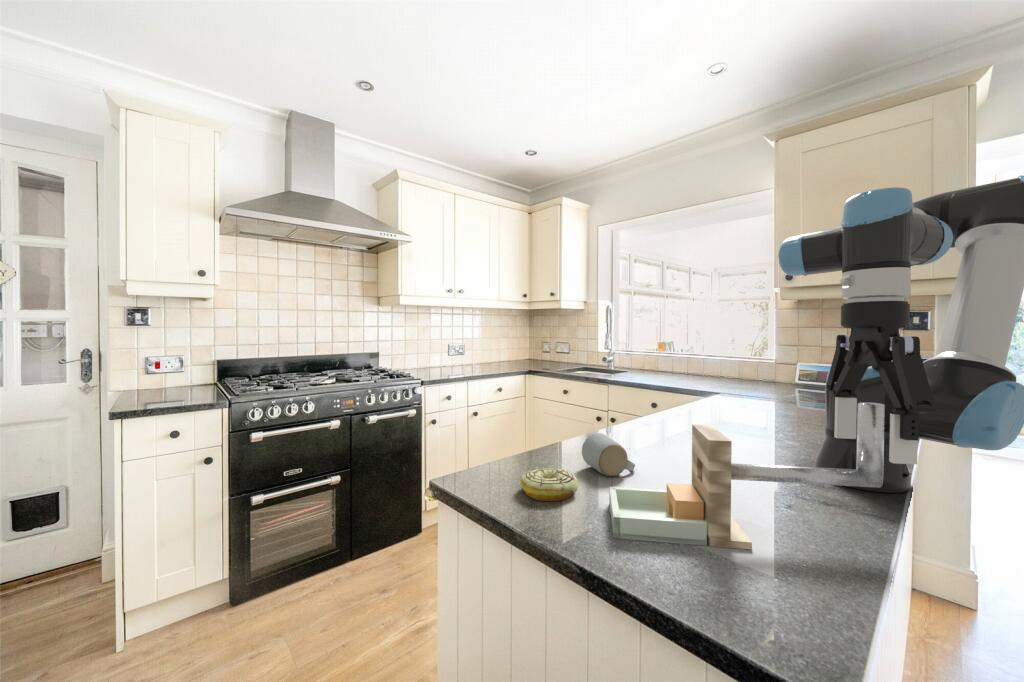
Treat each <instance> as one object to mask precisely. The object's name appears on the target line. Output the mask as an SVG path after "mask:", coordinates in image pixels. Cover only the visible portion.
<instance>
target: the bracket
mask: <svg viewBox="0 0 1024 682" xmlns="http://www.w3.org/2000/svg"><path fill="white" fill-rule="evenodd" d="M691 430H692V431H691V485H693V487H694V488H695V490H696V491H697V493H698V494H699V496H700V497H701V499H702V500H703V502H704V521H705V522H706V523H707V543H708V544H709V547H715V546H718V547H719V546H721V547H719V548H728V547H730V548H729V549H740V550H741V549H742V550H753V541H751V539H750V538H749V537H748V535H747V534H746V532H745V531H744V530H743V528H741V526H740V525H739V523H738V522H737V521H736V519H735V517H733V515H732V480H731V463H732V448H733V447H732V440H731V439H730V438H729V437H727V436H726V435H724V434H723V433H722V432H721V431H719V430H718V429H717V428H716V427H715V426H713V425H712V424H692V426H691ZM731 547H732V548H731Z"/></svg>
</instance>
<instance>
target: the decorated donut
mask: <svg viewBox="0 0 1024 682" xmlns="http://www.w3.org/2000/svg"><path fill="white" fill-rule="evenodd" d="M577 478H578V477H576V476H575V475H574V474H573V473H571V472H569V471H568V470H566V469H564V468H563V469H562V468H551V467H546V468H545V467H544V468H536V469H535V468H534V469H531V470H529V471H526V472H525V473H523V474H522V476H521V477H520V479H521V480H520V487H521V488H522V491H524V493H525V494H526V495H527V496H528V497H529V498H532V499H534V500H537V501H540V502H548V501H550V502H558V501H564V500H565V499H568V498H569V497H570V496H572V495H573V494H575V493H577V491H578V489H579V484H578V483H579V481H578V479H577Z"/></svg>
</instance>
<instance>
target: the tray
mask: <svg viewBox="0 0 1024 682" xmlns="http://www.w3.org/2000/svg"><path fill="white" fill-rule="evenodd" d="M608 493H609V512H610V521H611V530H612V538H613V539H620V540H631V541H643V542H644V541H645V542H658V543H670V544H679V545H680V544H681V545H690V546H691V545H692V546H693V545H694V546H703V545H704V546H705V547H706V546H707V543H708V541H707V523H706V522H705V521H703V520H690V519H676V518H673V515H669V514H668V512H667V489H657V488H656V489H654V488H640V487H639V488H636V487H622V486H621V487H620V486H609V492H608Z"/></svg>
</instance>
